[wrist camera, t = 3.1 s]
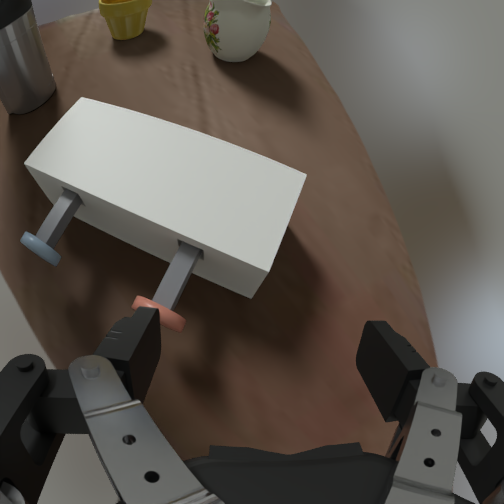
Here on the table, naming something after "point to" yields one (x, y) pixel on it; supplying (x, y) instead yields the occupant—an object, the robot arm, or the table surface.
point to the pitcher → (236, 27)
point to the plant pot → (125, 17)
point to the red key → (172, 287)
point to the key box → (170, 189)
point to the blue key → (53, 227)
